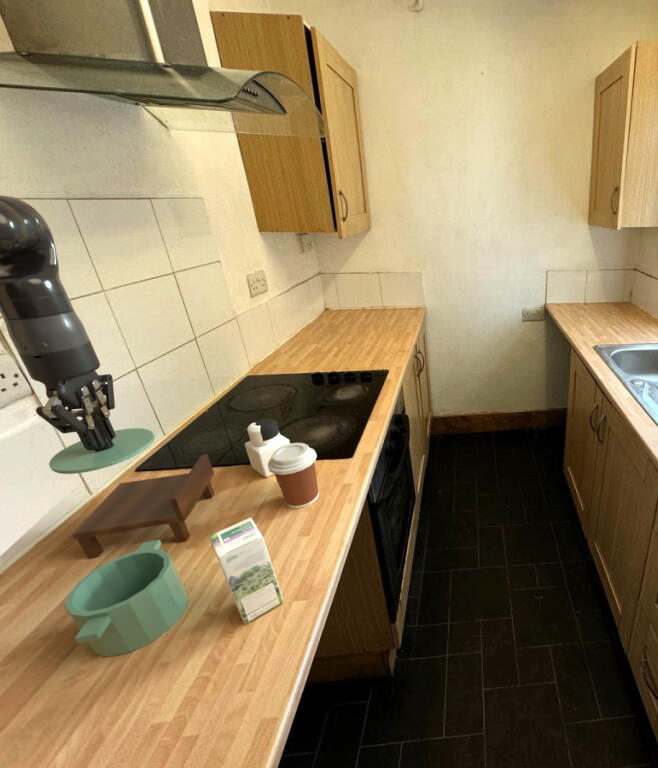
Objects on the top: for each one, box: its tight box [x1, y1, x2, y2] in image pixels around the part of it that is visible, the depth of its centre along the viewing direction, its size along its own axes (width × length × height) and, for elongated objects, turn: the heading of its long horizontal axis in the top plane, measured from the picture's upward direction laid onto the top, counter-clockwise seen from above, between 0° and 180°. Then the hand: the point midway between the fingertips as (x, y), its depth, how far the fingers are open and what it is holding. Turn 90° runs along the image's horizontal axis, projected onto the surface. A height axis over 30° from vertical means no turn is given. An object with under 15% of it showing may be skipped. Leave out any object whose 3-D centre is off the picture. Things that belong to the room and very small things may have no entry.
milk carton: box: [208, 517, 284, 625], centre depth 64 cm, size 6×6×14 cm
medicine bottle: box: [244, 418, 291, 478], centre depth 99 cm, size 7×7×12 cm
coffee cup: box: [267, 442, 320, 509], centre depth 88 cm, size 9×9×12 cm
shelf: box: [71, 453, 215, 560], centre depth 82 cm, size 17×15×10 cm
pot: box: [64, 539, 189, 657], centre depth 63 cm, size 12×17×8 cm
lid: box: [48, 415, 155, 475], centre depth 68 cm, size 13×13×7 cm
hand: (101, 443), depth 68 cm, fingers closed on lid, 2 cm apart
